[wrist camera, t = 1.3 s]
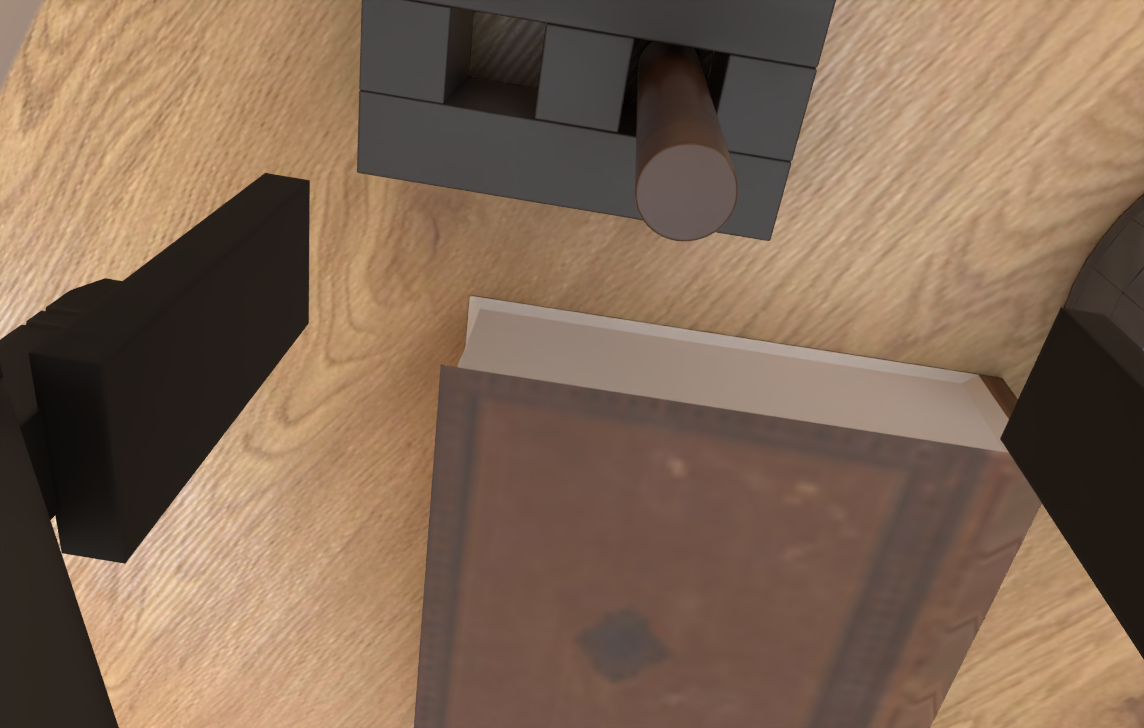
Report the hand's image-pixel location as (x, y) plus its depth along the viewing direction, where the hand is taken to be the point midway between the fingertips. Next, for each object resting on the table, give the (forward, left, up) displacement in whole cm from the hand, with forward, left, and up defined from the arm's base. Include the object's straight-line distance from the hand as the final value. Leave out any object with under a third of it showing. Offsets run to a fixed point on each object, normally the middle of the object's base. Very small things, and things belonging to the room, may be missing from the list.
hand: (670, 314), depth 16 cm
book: (+25, +6, -22) cm, 34 cm away
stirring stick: (0, +1, -22) cm, 22 cm away
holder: (0, -3, -22) cm, 22 cm away
